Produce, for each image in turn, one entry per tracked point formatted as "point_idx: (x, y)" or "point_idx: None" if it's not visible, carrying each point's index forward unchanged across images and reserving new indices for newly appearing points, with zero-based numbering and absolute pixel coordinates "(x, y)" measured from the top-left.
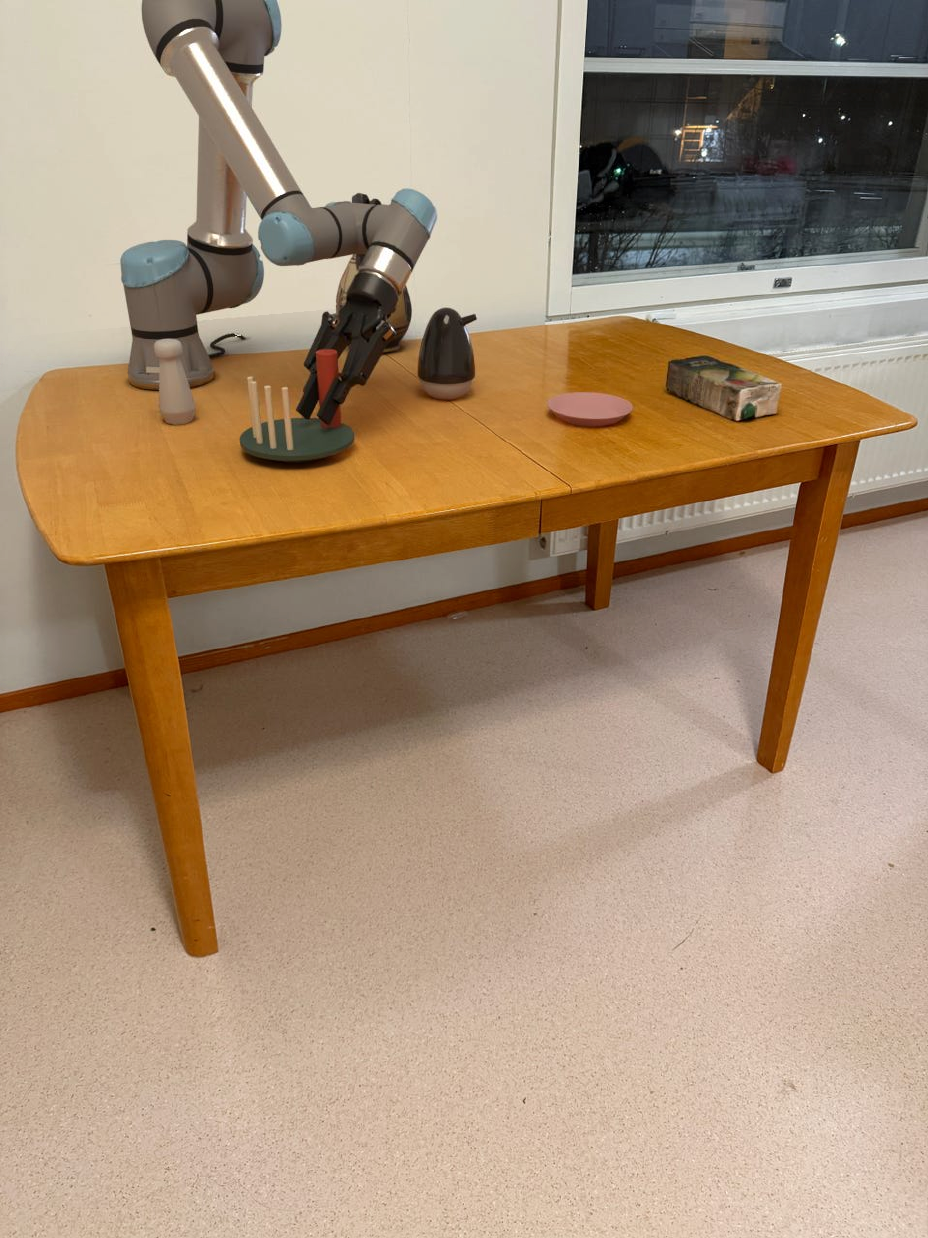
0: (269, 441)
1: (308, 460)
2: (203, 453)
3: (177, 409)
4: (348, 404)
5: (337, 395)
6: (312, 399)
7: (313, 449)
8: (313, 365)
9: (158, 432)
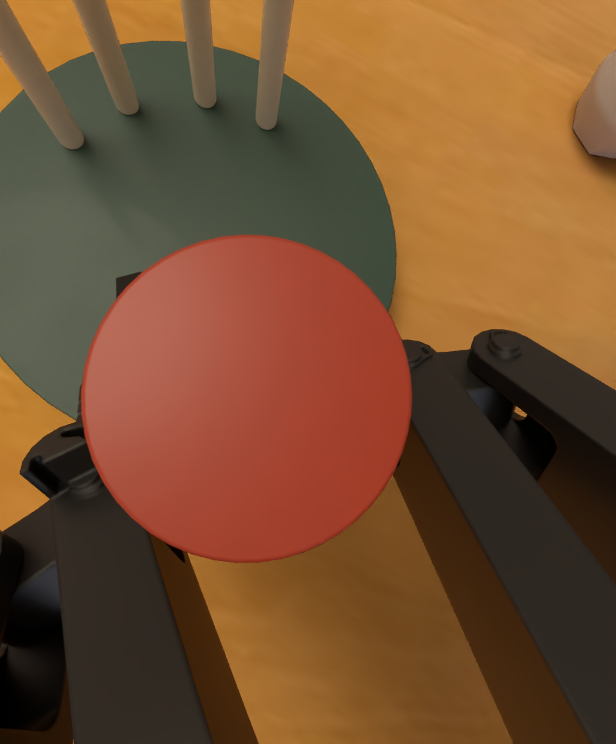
0: (200, 130)
1: None
2: (341, 45)
3: (607, 66)
4: None
5: None
6: None
7: (14, 204)
8: (438, 366)
9: (544, 47)
